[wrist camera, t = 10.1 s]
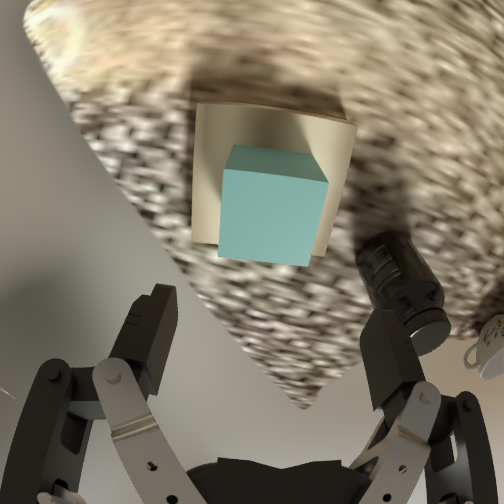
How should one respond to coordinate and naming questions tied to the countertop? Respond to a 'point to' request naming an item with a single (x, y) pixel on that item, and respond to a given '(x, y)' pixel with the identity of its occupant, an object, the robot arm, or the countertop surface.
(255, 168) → the teal cube
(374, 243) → the supplement bottle
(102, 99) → the countertop surface
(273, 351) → the countertop surface
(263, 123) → the birch pedestal
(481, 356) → the teacup
